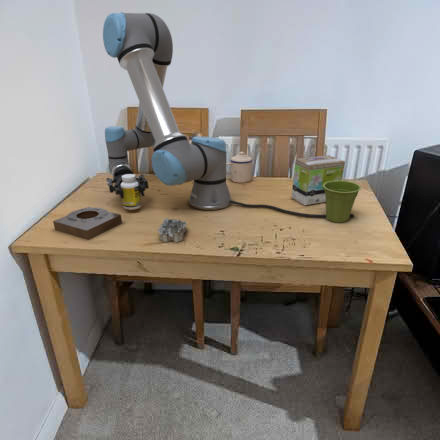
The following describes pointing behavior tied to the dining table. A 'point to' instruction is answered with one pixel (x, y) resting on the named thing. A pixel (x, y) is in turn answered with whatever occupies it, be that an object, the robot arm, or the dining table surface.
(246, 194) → the dining table surface
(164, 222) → the egg carton
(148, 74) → the robot arm
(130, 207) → the pill bottle
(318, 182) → the tea box
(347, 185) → the plant pot
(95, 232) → the bottle stand
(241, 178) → the teacup with lid
